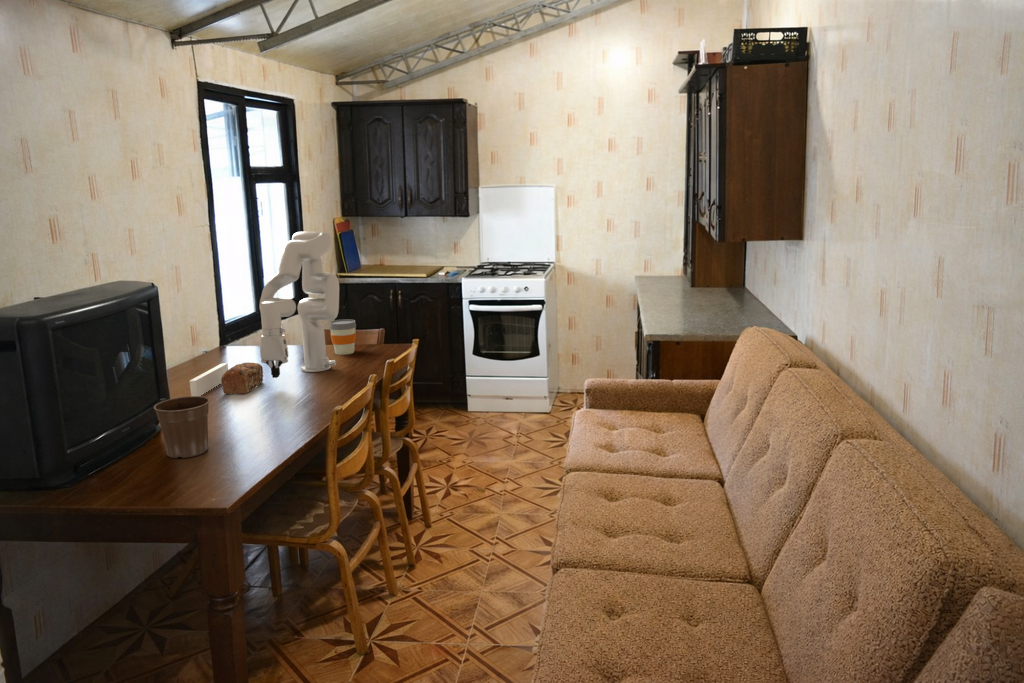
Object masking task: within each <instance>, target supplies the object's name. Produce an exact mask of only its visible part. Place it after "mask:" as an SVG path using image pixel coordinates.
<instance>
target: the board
mask: <svg viewBox="0 0 1024 683" xmlns="http://www.w3.org/2000/svg"><path fill="white" fill-rule="evenodd" d="M227 370H229V365H228V363H226V362H225V363H223V362H221V363H220V364H218V365H216V366H215V367H212V368H211V369H209V370H206V371H205V372H203V373H201V374H199V375H198V376H195V377H194V378H191V379H190V380H189V388H190V396H201V395H202V396H204V395H205V394H207V393H208V391H209V390H210V391H212V390H214V389H215V388H217V387H219V386H220V385H219V384H221V382H222V381H221V378H222V376H223V375H224V373H225V372H226V371H227ZM218 385H219V386H218ZM221 385H222V384H221ZM216 386H217V387H216ZM214 387H215V388H214ZM213 388H214V389H213ZM211 389H212V390H211ZM210 391H209V392H210ZM206 392H207V393H206ZM204 393H205V394H204ZM203 394H204V395H203ZM202 396H201V397H202Z"/></svg>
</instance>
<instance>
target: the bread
mask: <svg viewBox="0 0 1024 683" xmlns="http://www.w3.org/2000/svg"><path fill="white" fill-rule="evenodd" d="M263 373H264V369H263V366H262V364H260V363H259V362H258V363H257V362H241V363H239V364H235V365H234V366H232V367H231V368H228V370H227V371H226V372H225V373H224V375H223V376H222V378H221V381H222V382H221V387H222V390H223V391H222V392H223V394H225V395H246V394H248V392H252V391H253V390H255V389H256V388H257V387H256V386H258V387H259V386H260V385H261V384H263V382H264V374H263ZM260 383H261V384H260ZM255 387H256V388H255ZM254 388H255V389H254ZM252 389H253V390H252ZM245 393H246V394H245Z"/></svg>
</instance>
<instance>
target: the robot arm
mask: <svg viewBox="0 0 1024 683" xmlns="http://www.w3.org/2000/svg"><path fill="white" fill-rule="evenodd" d="M332 244H333V238H332V236H331V234H330V233H329V232H326V231H297V232H295V233H293V235H292V237H291V240H289V241H287V242H286V243H285V244H284V248H283V251H282V255H281V260H280V262H279V263H280V264H279V268H278V271H277V273H276V274H275V275H274V276H273V277H272V278H270V280H269V281H268V282H267V283H266V284H265V285H264V287H263V289H262V292H261V296H260V299H259V306H258V308H259V311H260V318H261V330H262V331H261V334H262V335H261V336H260V345H259V348H260V350H259V355H260V359H261V361H260V362H261V363H262V364H266V365H267V366H268V367H269V368H270V374H271V376H272V379H274V378H276V379H278V378H279V377H280V375H281V371H280V370H281V368H280V367H282V365H283V364H286V363H288V362H289V359H288V358H289V349H288V348H289V347H288V343H287V339H286V336H285V333H286V329H285V328H283V327H282V326H283V325H282V318H285V317H287V318H288V317H291V316H293V315H294V314H295V312H296V310H297V313H298V316H299V321H300V326H301V334H302V347H303V348H302V349H303V358H304V365H302V366H301V367H300V368H301V371H302V372H306V373H317V372H324V371H328V370H330V369H331V367H332V366H336V365H337V361H336V360H335V359H332V360H330V359H329V356H328V357H327V349H326V334H325V332H326V331H325V327H324V325H323V324H322V322H321V321H334V320H335V319H337V317H338V314H339V309H340V281H339V278H338V276H337V275H336V274H334V273H332V272H324V271H323V270H324V268H323V267H324V266H323V263H324V262H323V258H322V256H324V255H325V254H327V253H328V252H329V250H330V249H331V247H332ZM301 270H302V271H301ZM301 272H302V273H301ZM300 274H302V275H301V286H302V288H301V289H302V291H303V292H304V293H305V294H306V295H316V296H318V295H319V296H322V295H323V296H324V297H305V298H303V299H301V300H299V302H298V304H297V305H296V302H295V300H293V299H291V298H289V297H288V298H287V297H275V295H276V293H278V291H280V290H281V289H282V288H284V287H286V286H288V285H290V284H292V283H295V282H297V280H299V278H300Z"/></svg>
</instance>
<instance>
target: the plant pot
mask: <svg viewBox="0 0 1024 683" xmlns="http://www.w3.org/2000/svg"><path fill="white" fill-rule="evenodd" d="M210 400H211V399H210V398H208V397H206V396H191V395H190V396H181V397H174V398H171V399H166V400H163V401H160V402H158V403H156V404H154V406H153V410H154V411H155V413H156V417H157V420H158V422H159V424H160V425H159V426H160V429H161V432H162V437H163V442H164V445H165V450H166V455H167V457H169V458H172V459H178V458H182V459H188V458H193V457H194V458H195V457H197V456H200V455H203V454H205V453H206V451H208V450H209V425H208V423H209V422H208V417H209V416H208V414H209V403H210V402H211V401H210Z"/></svg>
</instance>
